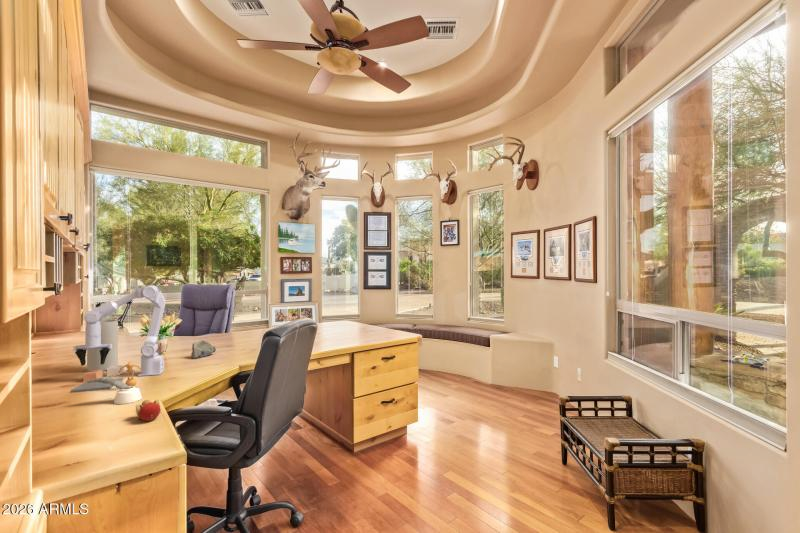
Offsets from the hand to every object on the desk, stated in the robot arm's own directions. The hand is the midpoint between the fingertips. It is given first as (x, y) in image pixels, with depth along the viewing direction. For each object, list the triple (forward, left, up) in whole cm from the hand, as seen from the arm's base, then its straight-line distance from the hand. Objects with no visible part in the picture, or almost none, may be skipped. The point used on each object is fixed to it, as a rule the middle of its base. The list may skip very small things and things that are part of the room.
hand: (93, 364), depth 176 cm
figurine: (-22, +20, -7) cm, 31 cm away
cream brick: (-6, -8, -7) cm, 12 cm away
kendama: (-40, +57, -8) cm, 70 cm away
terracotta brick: (0, 0, -7) cm, 7 cm away
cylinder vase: (+5, -22, -7) cm, 24 cm away
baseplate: (-7, +12, -7) cm, 16 cm away
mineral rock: (-40, -37, -8) cm, 55 cm away
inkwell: (-23, +38, -7) cm, 45 cm away
